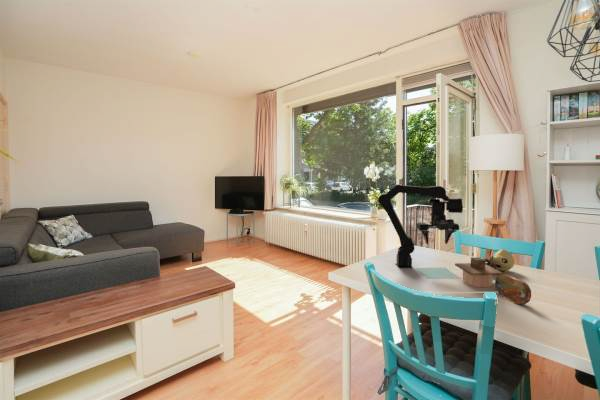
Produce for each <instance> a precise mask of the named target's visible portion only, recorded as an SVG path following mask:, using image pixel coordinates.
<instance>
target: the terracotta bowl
mask: <svg viewBox="0 0 600 400" xmlns="http://www.w3.org/2000/svg"><path fill="white" fill-rule="evenodd" d="M493 276H494V275H470V274H468V273H467V272H465V271H464V270H462V281H463V283H465V284H466V285H468V286H473V287H478V288H490V287H492V285H493V280H494V279H493Z"/></svg>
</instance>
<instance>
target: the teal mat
mask: <svg viewBox="0 0 600 400" xmlns="http://www.w3.org/2000/svg"><path fill="white" fill-rule="evenodd" d="M415 269H416V270H417V272H419V273H420V274H421V275H422V276H423V277H424V278H426V279H427V280H438V279H439V280H441V279H442V280H443V279H444V280H446V279H447V280H449V279H450V280H451V279H453V280H454V279H455V280H457V279H462V278H461V277H460V276H458V275H457V274H456V273H454V272H452V271H451V270H449V269H448V268H447V267H415Z"/></svg>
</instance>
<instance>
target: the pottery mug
mask: <svg viewBox="0 0 600 400" xmlns="http://www.w3.org/2000/svg"><path fill="white" fill-rule="evenodd" d="M482 259H484V260H486V265H488V266H490V267H492V268H494V269H496V265H495V263H493V262H492V261H491V260H490V259H489V258H484V257H483V258H482ZM496 270H497V269H496Z"/></svg>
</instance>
